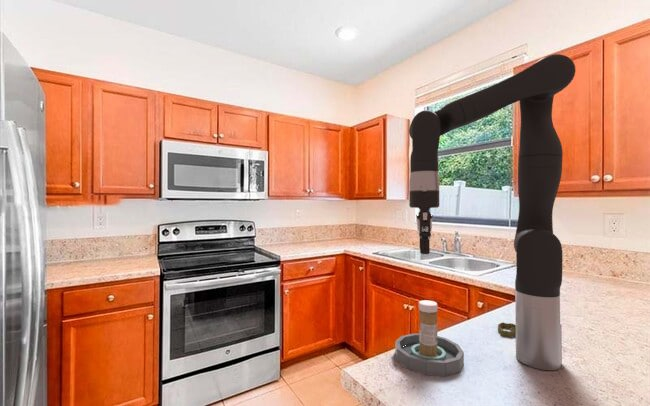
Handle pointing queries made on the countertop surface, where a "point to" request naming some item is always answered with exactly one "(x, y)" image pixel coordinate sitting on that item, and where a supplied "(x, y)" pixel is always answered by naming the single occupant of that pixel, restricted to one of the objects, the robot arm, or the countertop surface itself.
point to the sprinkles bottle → (428, 328)
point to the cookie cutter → (508, 326)
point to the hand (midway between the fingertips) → (424, 251)
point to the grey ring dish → (442, 365)
